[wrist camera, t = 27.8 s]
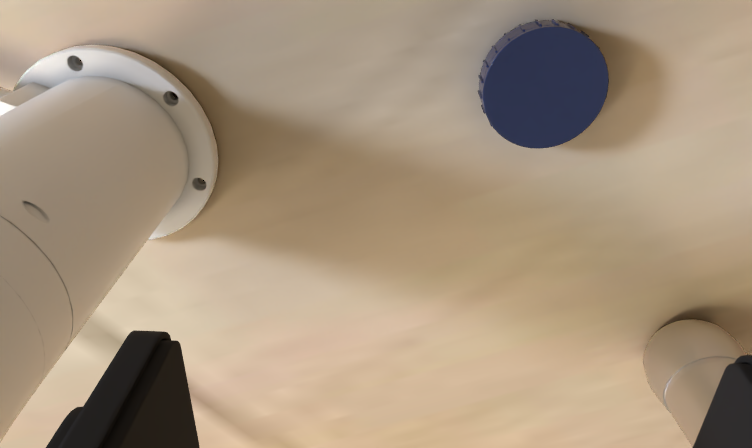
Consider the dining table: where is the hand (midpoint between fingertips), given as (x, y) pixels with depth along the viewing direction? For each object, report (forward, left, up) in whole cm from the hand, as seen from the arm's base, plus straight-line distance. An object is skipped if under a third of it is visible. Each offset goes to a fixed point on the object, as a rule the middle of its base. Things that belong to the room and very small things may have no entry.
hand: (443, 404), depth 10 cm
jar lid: (+7, +1, -25) cm, 26 cm away
